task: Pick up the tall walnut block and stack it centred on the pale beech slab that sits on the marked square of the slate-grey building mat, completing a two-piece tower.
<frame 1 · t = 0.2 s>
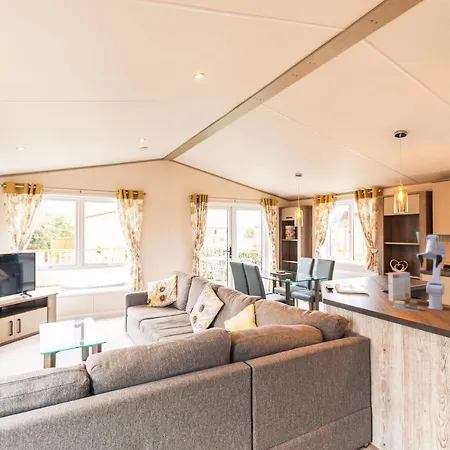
hand: (428, 266, 199), 31 cm above the counter, tool tilted 45°, fingers open, 7 cm apart
cracker box: (399, 301, 242), on the counter
walnut block: (413, 308, 219), resting on building mat
building mat: (405, 308, 223), on the counter
beech slab: (399, 306, 226), resting on building mat
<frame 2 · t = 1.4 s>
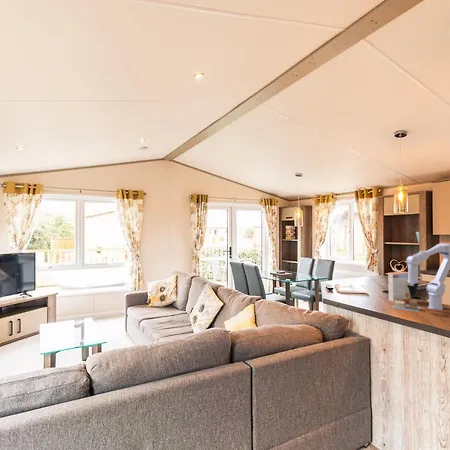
hand: (413, 295, 219), 10 cm above the counter, tool pointing down, fingers open, 7 cm apart
nothing on the counter moved.
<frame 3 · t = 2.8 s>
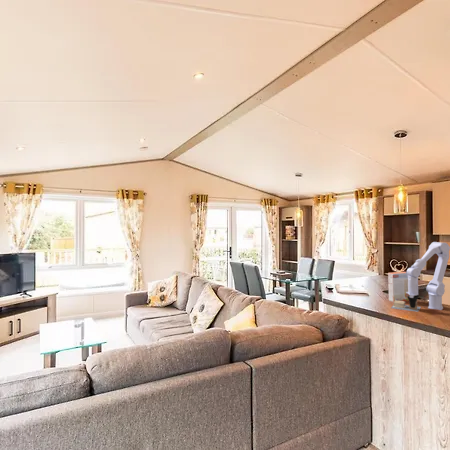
hand: (413, 306, 219), 2 cm above the counter, tool pointing down, fingers closed on walnut block, 4 cm apart
walnut block: (413, 308, 219), resting on building mat, touching gripper
everything else where it was.
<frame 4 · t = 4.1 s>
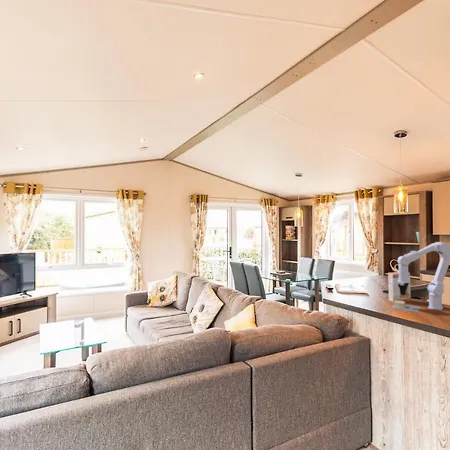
hand: (403, 294, 224), 9 cm above the counter, tool pointing down, fingers closed on walnut block, 4 cm apart
walnut block: (403, 297, 224), point 7 cm above the counter, touching gripper
everything else where it was.
when the fingers open (6 cm above the counter, at t = 5.2 s): walnut block stays where it is, resting on beech slab.
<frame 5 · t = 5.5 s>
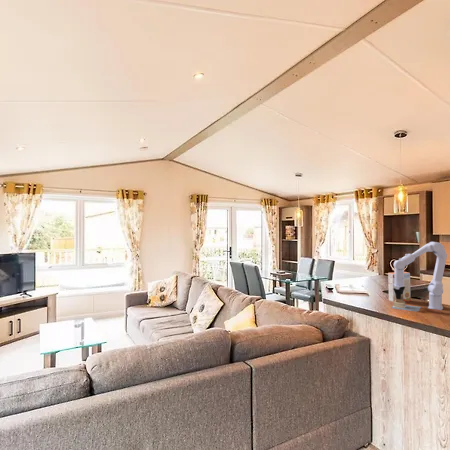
hand: (399, 298, 226), 6 cm above the counter, tool pointing down, fingers open, 6 cm apart
walnut block: (399, 301, 226), point 3 cm above the counter, touching beech slab
beech slab: (399, 306, 226), resting on building mat, touching walnut block
everything else where it was.
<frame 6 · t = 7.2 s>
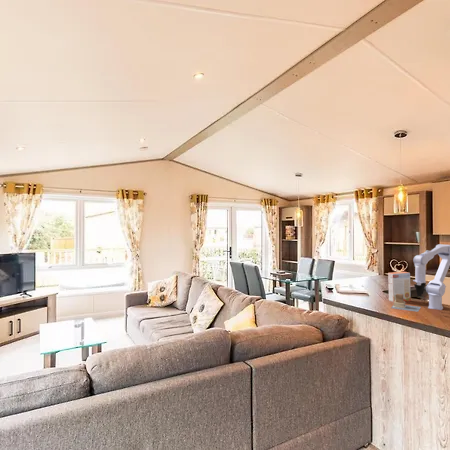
hand: (420, 294, 216), 10 cm above the counter, tool pointing down, fingers open, 7 cm apart
nothing on the counter moved.
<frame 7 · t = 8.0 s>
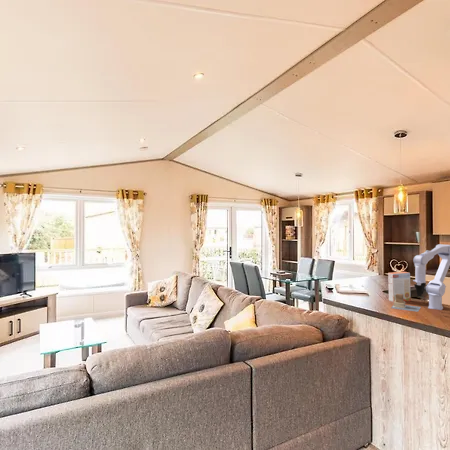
hand: (420, 294, 216), 10 cm above the counter, tool pointing down, fingers open, 7 cm apart
nothing on the counter moved.
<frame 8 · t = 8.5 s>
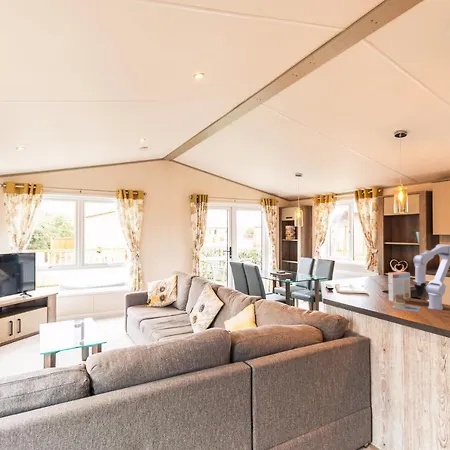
hand: (420, 294, 216), 10 cm above the counter, tool pointing down, fingers open, 7 cm apart
nothing on the counter moved.
at the end: walnut block 0.1 cm off-centre on the beech slab, point 3.0 cm above the beech slab's base; walnut block tilted 0°; walnut block touching beech slab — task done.
